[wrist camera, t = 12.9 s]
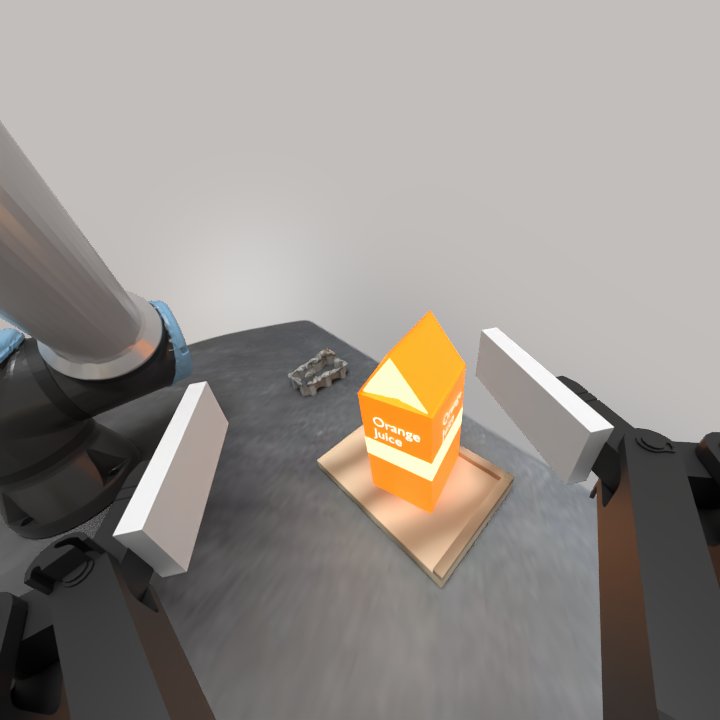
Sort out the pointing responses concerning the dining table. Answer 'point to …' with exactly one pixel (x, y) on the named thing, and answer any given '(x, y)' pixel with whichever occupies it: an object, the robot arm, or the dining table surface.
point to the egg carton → (316, 365)
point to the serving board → (414, 525)
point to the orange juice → (415, 415)
